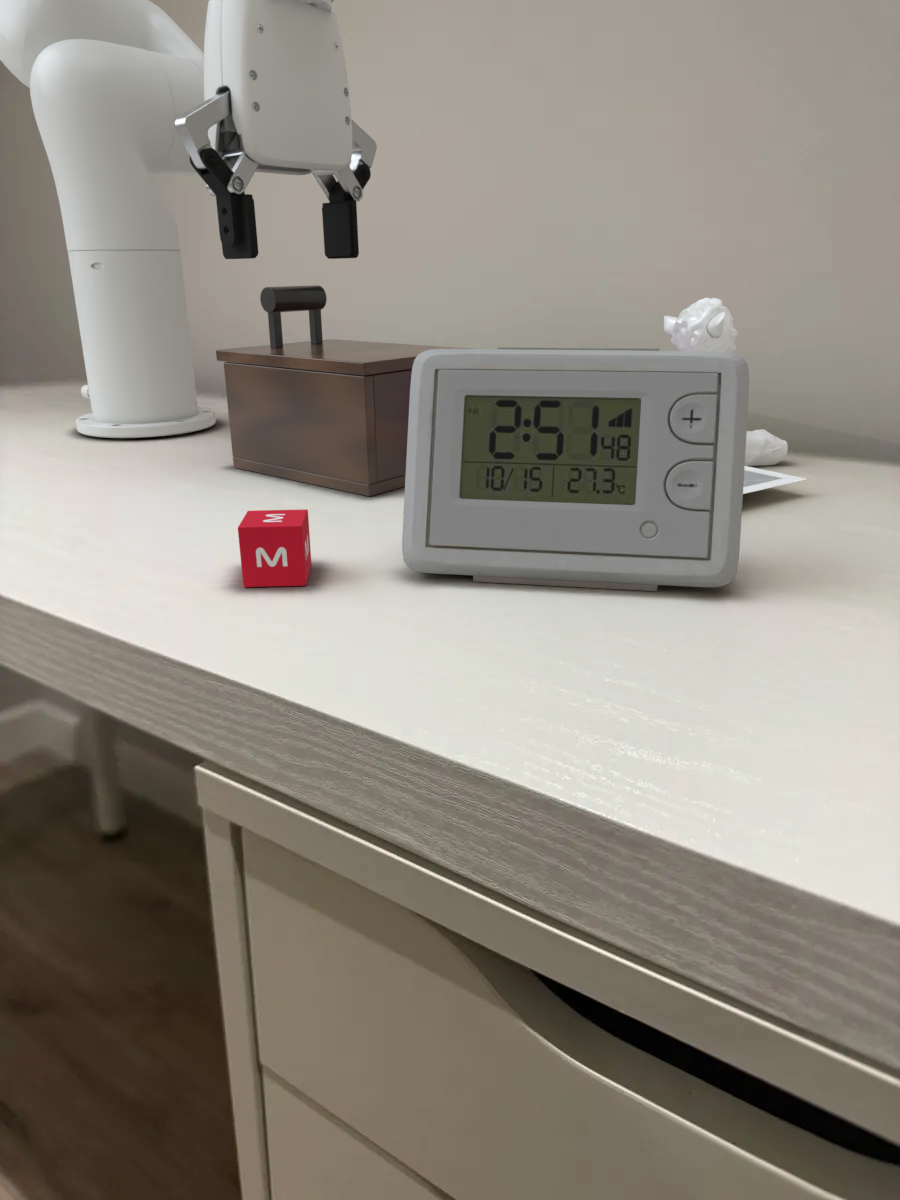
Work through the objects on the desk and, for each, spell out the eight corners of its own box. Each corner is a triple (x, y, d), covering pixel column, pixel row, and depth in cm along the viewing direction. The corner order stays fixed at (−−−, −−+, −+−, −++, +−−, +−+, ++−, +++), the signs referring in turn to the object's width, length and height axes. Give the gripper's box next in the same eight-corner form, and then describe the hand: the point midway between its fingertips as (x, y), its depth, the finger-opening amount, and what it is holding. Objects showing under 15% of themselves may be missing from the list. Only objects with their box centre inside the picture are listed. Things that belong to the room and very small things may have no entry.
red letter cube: (252, 567, 45) (247, 510, 44) (311, 565, 45) (307, 509, 44) (243, 587, 42) (237, 527, 41) (306, 585, 42) (301, 525, 41)
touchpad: (554, 505, 56) (555, 471, 55) (710, 473, 64) (713, 444, 63) (645, 534, 50) (647, 497, 49) (805, 495, 58) (810, 462, 57)
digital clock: (384, 578, 43) (376, 355, 39) (451, 529, 51) (450, 339, 47) (727, 622, 38) (756, 367, 34) (743, 560, 46) (768, 347, 42)
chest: (233, 467, 67) (223, 362, 65) (343, 444, 76) (338, 350, 73) (369, 496, 59) (364, 376, 56) (477, 466, 67) (477, 360, 64)
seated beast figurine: (790, 463, 67) (812, 297, 63) (719, 480, 62) (738, 301, 58) (690, 445, 74) (704, 294, 70) (619, 458, 69) (629, 297, 65)
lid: (216, 361, 65) (209, 287, 63) (332, 349, 73) (328, 284, 71) (364, 375, 56) (360, 290, 54) (477, 360, 64) (477, 285, 62)
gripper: (330, 19, 67) (343, 259, 73) (126, -34, 55) (162, 260, 61) (402, 0, 63) (410, 257, 69) (198, -63, 51) (229, 257, 57)
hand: (294, 258), depth 65 cm, fingers open, 9 cm apart
